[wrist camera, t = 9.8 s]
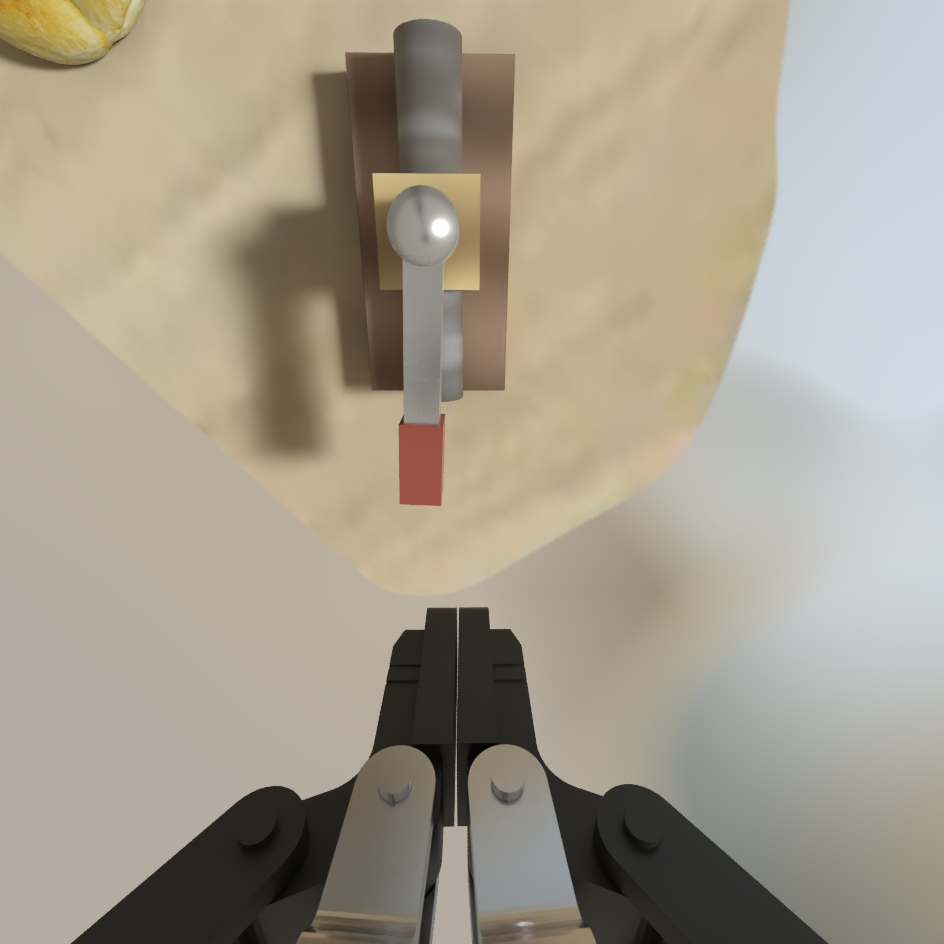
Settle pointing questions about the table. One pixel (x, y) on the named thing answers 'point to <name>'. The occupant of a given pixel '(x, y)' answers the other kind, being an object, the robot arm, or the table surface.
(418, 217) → the valve lever
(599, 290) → the table surface
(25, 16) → the bread roll
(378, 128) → the valve board
